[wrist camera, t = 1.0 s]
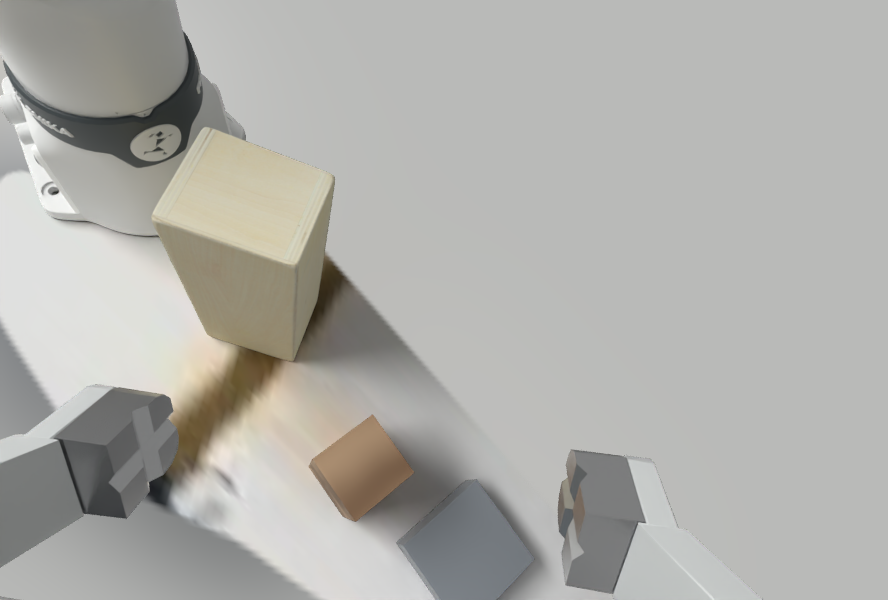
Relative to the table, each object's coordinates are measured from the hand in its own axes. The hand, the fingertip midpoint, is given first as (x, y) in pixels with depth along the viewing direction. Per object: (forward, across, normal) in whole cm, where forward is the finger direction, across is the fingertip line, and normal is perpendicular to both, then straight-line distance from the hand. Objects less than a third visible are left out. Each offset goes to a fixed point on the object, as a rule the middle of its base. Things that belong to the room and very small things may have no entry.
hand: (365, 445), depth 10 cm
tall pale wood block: (+32, +17, +16) cm, 40 cm away
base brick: (+23, -3, +31) cm, 39 cm away
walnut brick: (+24, +7, +26) cm, 36 cm away
